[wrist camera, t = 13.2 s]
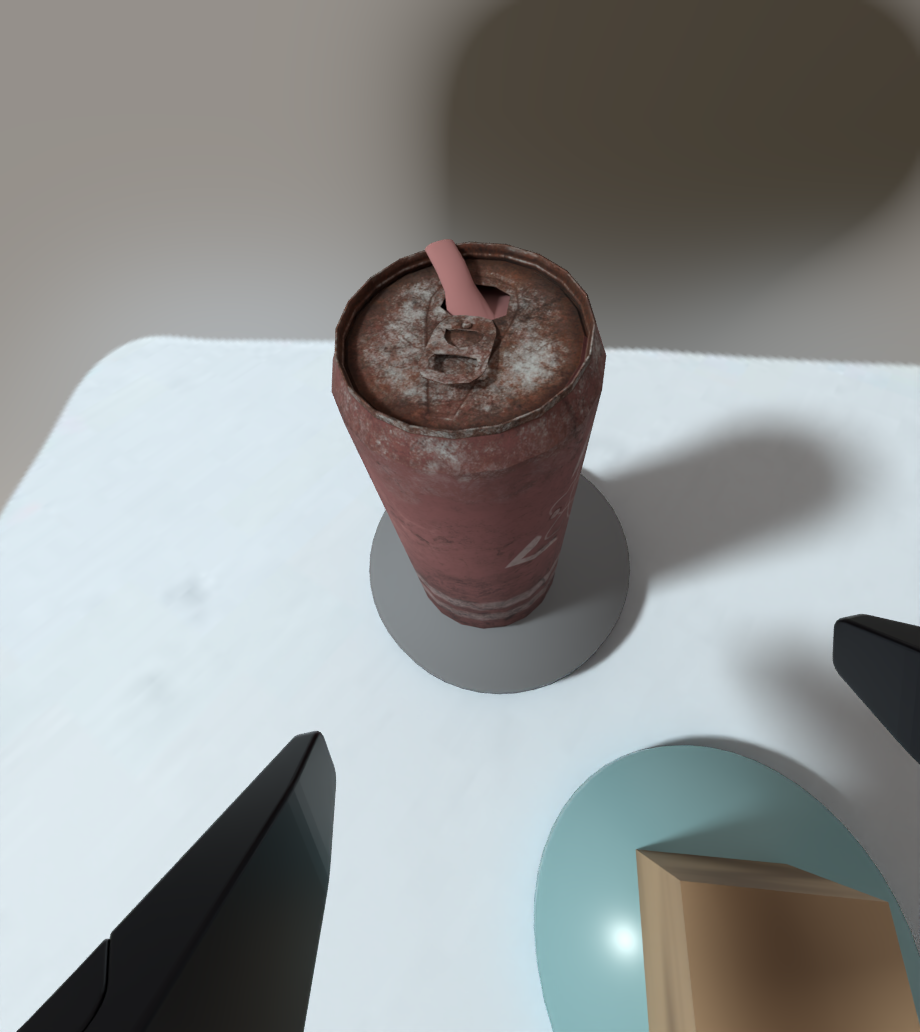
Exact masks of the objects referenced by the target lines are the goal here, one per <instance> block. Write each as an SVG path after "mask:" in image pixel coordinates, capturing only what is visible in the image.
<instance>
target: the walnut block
mask: <svg viewBox="0 0 920 1032" xmlns="http://www.w3.org/2000/svg"><path fill="white" fill-rule="evenodd" d="M636 861H637V875H638V889H639V902H640V916H641V929H642V943H643V957H644V970H645V984H646V997H647V1011H648V1024H649V1032H920V1024H919V1020H918V1016H917V1013H916V1009H915V1005H914V1001H913V997H912V993H911V989H910V985H909V981H908V977H907V973H906V969H905V965H904V962H903V958H902V954H901V950H900V946H899V942H898V938H897V934H896V930H895V926H894V922H893V918H892V915H891V911H890V907H889V903H888V902H887V901H884V900H881V899H879V898H876V897H873V896H871V895H868V894H865V893H863V892H860V891H857V890H855V889H852V888H849V887H847V886H844V885H841V884H839V883H836V882H833V881H831V880H828V879H825V878H823V877H820V876H817V875H815V874H812V873H809V872H807V871H804V870H801V869H799V868H796V867H793V866H791V865H788V864H782V863H772V862H761V861H751V860H741V859H731V858H720V857H710V856H700V855H690V854H679V853H669V852H659V851H648V850H638V849H636Z"/></svg>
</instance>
